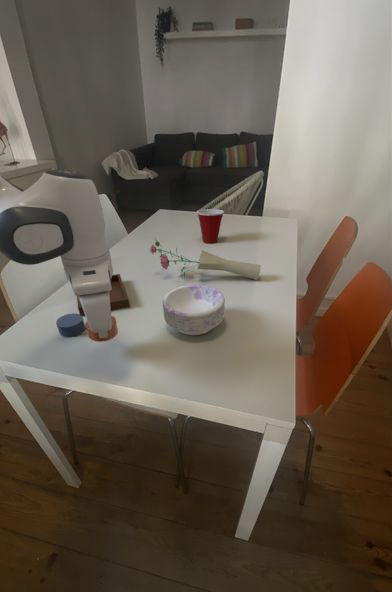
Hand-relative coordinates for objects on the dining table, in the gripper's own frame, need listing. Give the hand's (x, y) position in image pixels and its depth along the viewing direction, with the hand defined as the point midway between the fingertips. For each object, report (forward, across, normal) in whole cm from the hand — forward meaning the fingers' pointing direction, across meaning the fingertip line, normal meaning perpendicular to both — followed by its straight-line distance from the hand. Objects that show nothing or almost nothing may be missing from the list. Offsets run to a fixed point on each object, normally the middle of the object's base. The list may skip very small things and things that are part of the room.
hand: (101, 326), depth 69 cm
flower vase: (+7, -29, +35) cm, 46 cm away
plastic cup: (+7, -61, +49) cm, 78 cm away
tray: (+7, -28, +2) cm, 29 cm away
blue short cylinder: (+8, -13, -8) cm, 17 cm away
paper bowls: (+7, -4, +22) cm, 24 cm away
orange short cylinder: (+2, 0, 0) cm, 2 cm away
